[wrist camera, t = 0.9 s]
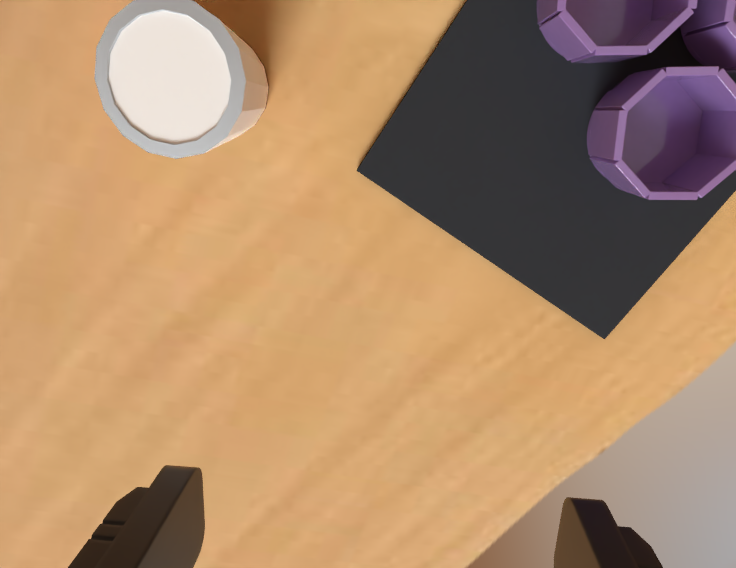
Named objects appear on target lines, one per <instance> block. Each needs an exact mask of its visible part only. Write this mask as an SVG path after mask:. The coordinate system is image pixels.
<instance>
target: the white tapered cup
mask: <svg viewBox="0 0 736 568" xmlns="http://www.w3.org/2000/svg"><path fill="white" fill-rule="evenodd" d="M95 82H96V85H97V88H98V92H99V95H100V98H101V102H102V105H103V108H104V110H105V112H106V113H107V115H108V116H109V117H110V119H111V120H112V121H113V123H114V124H115V125H116V127H117V128H118V130H119V131H120V132H121V134H122V135H123V136H124V137H126V138H127V139H129V140H130V141H132V142H133V143H135V144H136V145H138V146H139V147H141V148H142V149H144V150H145V151H147V152H148V153H153V154H157V155H162V156H166V157H171V158H175V159H178V158H183V157H188V156H193V155H198V154H204V153H206V152H208V151H210V150H212V149H214V148H216V147H218V146H220V145H222V144H224V143H226V142H228V141H230V140H232V139H234V138H236V137H238V136H240V135H241V134H243V133H244V132H246V131H247V130H249V129H250V128H251V127H253V126H254V125H256V123H257V121H258V120H259V118H260V116H261V115H262V113H263V111H264V110H265V108H266V102H267V95H268V88H269V87H268V82H267V78H266V73H265V69H264V66H263V64H262V63H261V61H260V60H259V58H258V57H257V55H256V54H255V52H254V51H253V49H252V48H251V47H250V46H249V45H247V44H246V43H245V42H244V41H243V40H242V39H241V38H240V37H238V36H237V35H236V34H235V33H234V32H233V31H232V30H231V29H230V28H228V27H227V26H226V25H225V24H224V23H223V22H222V21H221V20H219V19H218V18H217V17H215V16H214V15H212V14H211V13H210V12H208V11H207V10H205V9H204V8H203V7H201V6H200V5H198V4H197V3H196V2H194V1H192V0H134V1H132V2H131V3H130V4H128V5H127V6H126V7H125V8H123V9H122V10H121V11H120V12H119V13H117V14H116V15H115V16H114V17H112V18H111V19H110V20H109V22H108V25H107V27H106V29H105V31H104V33H103V35H102V37H101V39H100V41H99V43H98V45H97V48H96V65H95Z"/></svg>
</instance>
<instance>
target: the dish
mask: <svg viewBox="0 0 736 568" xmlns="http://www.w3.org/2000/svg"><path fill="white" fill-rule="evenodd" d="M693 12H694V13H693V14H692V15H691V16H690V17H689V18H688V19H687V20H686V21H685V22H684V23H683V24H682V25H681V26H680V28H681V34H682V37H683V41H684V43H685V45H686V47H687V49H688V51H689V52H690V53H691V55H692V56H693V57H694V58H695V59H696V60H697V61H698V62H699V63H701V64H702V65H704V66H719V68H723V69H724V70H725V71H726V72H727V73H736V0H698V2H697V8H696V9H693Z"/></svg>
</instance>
